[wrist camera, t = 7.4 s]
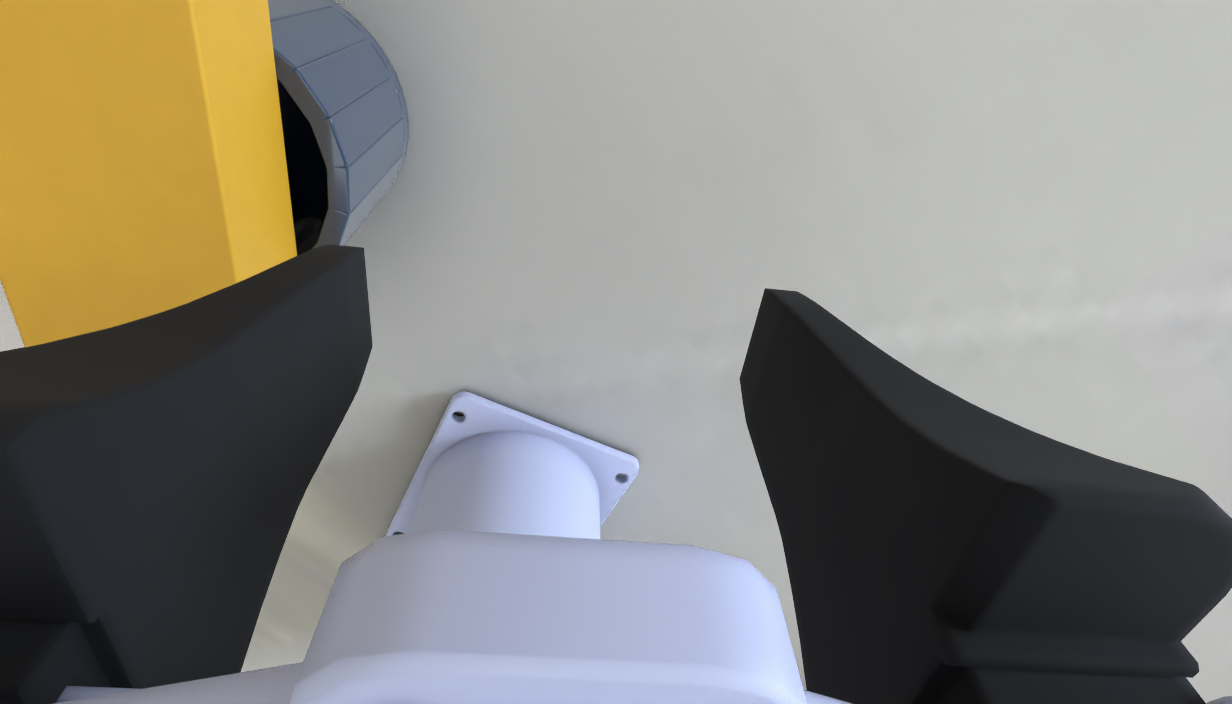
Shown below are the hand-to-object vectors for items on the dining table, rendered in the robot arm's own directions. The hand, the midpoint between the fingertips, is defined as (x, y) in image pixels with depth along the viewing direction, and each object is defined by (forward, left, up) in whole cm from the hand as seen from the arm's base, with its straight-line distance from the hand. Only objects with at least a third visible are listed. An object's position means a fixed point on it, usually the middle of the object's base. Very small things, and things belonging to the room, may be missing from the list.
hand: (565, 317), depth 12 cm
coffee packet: (-3, +8, -4) cm, 10 cm away
